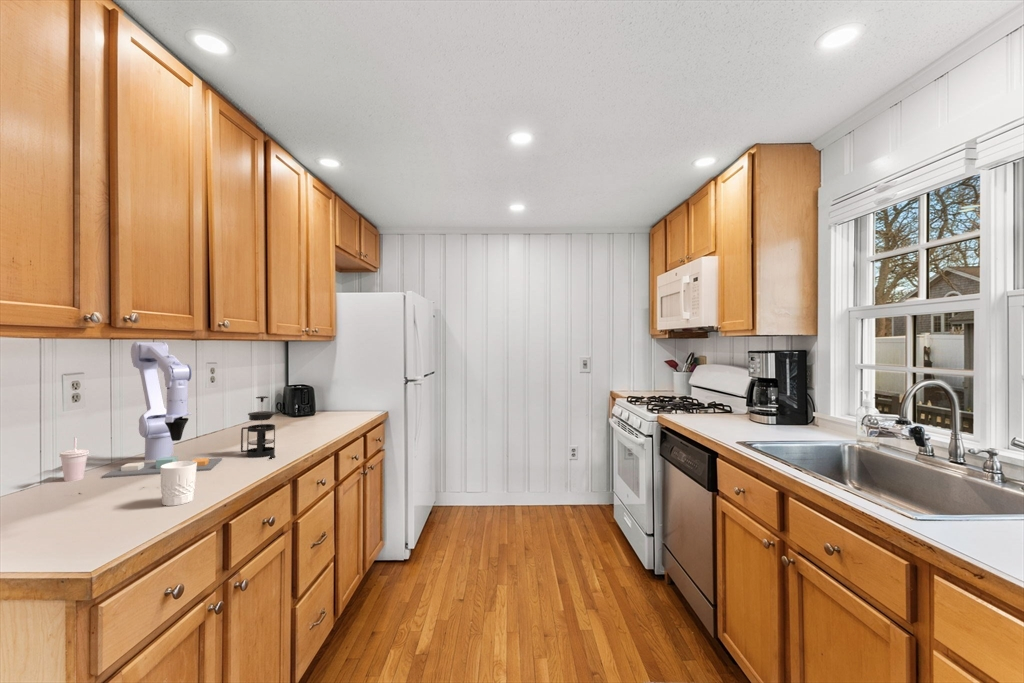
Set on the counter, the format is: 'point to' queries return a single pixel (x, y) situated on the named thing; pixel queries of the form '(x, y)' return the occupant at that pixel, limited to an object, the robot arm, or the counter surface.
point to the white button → (132, 466)
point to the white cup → (178, 482)
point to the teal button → (165, 461)
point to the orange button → (201, 461)
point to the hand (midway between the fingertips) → (176, 440)
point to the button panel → (151, 469)
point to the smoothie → (74, 463)
